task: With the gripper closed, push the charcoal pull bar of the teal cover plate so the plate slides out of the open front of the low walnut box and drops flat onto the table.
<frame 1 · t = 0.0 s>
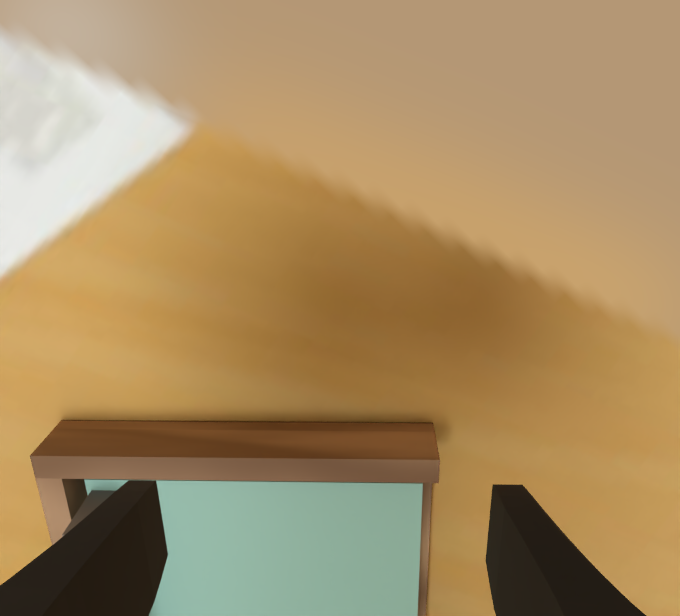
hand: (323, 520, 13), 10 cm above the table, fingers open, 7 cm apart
walnut box: (256, 557, 26), on the table
cover plate: (265, 568, 26), point 1 cm above the table, touching walnut box
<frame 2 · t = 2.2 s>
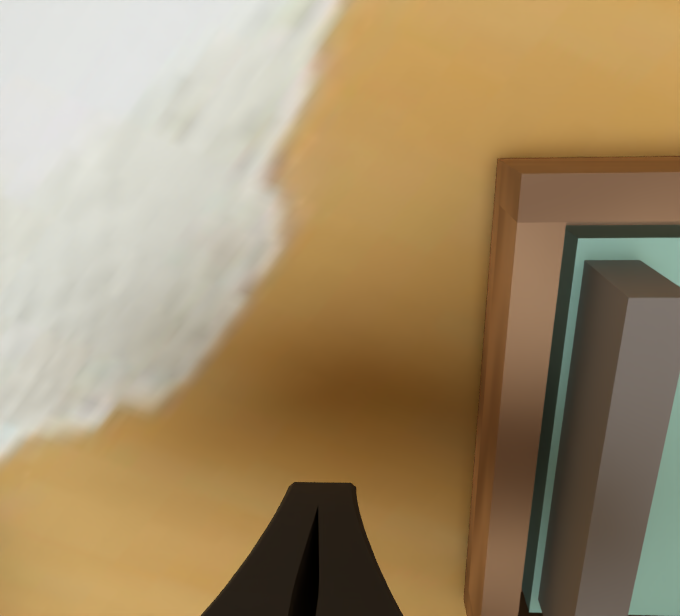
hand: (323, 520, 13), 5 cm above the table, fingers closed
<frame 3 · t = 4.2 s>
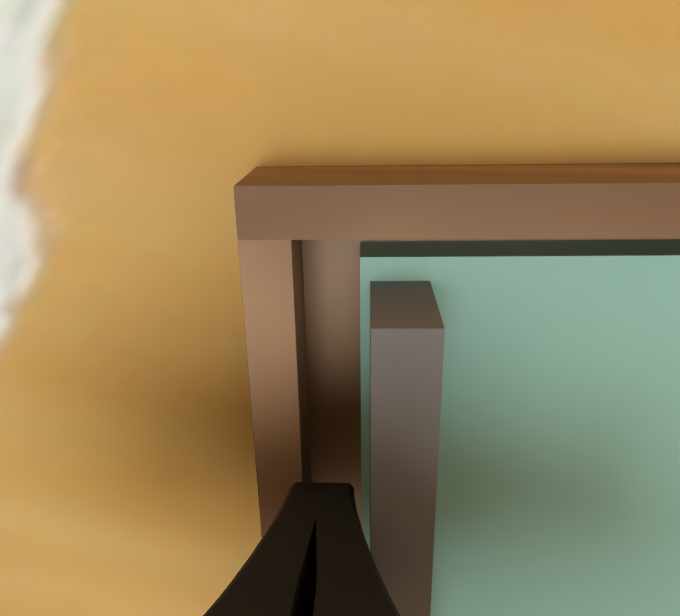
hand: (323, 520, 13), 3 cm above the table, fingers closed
walnut box: (565, 442, 15), on the table
cover plate: (625, 456, 15), point 1 cm above the table, touching gripper, walnut box
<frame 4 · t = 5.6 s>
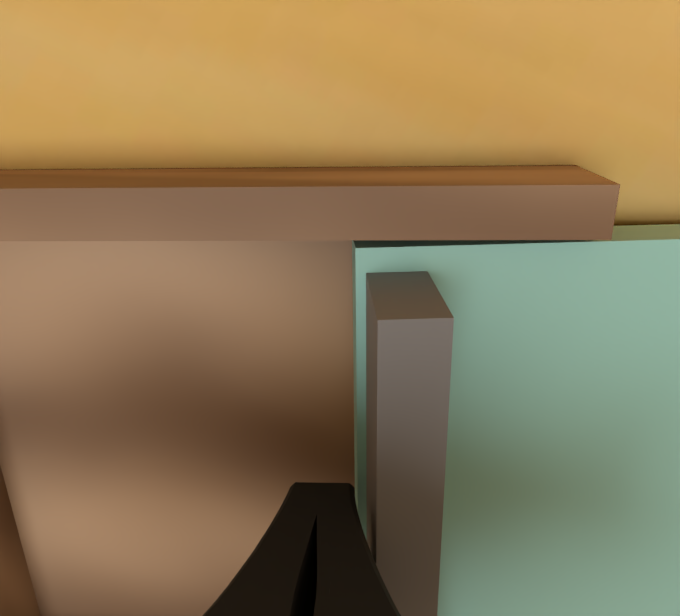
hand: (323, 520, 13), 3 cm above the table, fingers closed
walnut box: (250, 438, 16), on the table
cover plate: (617, 443, 15), on the table, touching walnut box
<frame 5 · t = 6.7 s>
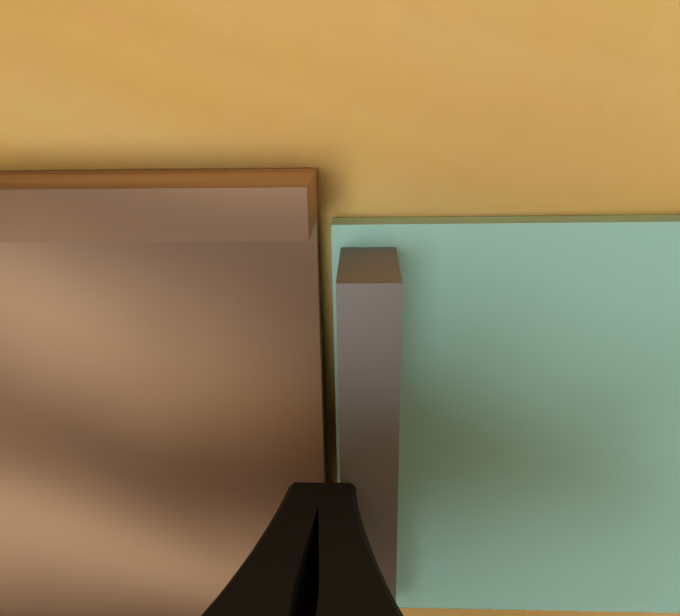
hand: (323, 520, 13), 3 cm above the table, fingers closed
walnut box: (44, 437, 16), on the table
cover plate: (585, 417, 16), on the table, touching gripper
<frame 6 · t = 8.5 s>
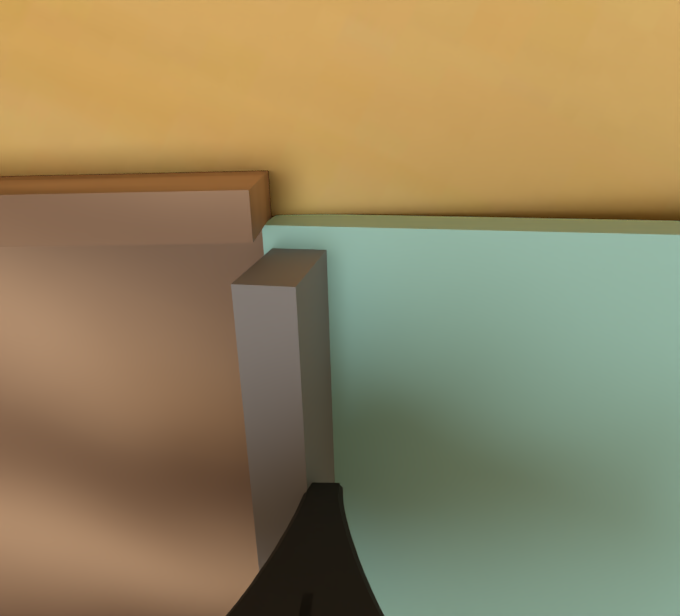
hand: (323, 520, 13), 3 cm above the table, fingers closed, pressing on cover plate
walnut box: (10, 440, 16), on the table
cover plate: (548, 441, 14), point 1 cm above the table, tilted 10°, touching gripper, walnut box
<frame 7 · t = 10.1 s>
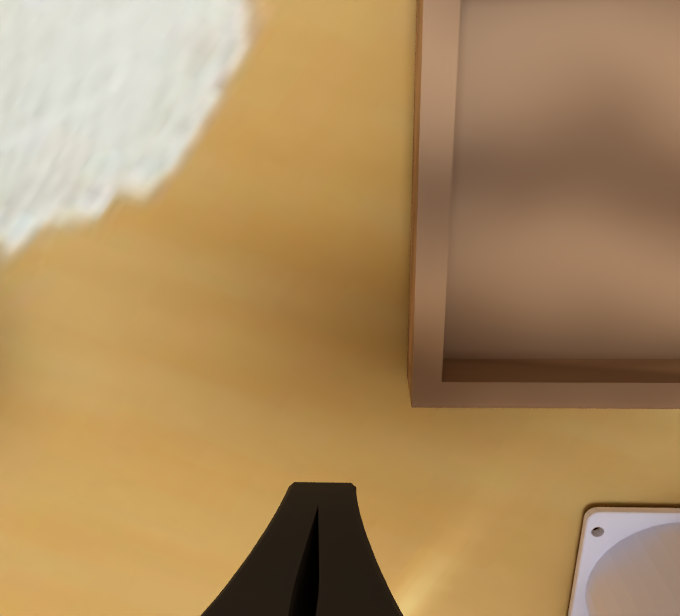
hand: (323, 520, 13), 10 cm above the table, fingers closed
walnut box: (634, 192, 20), on the table
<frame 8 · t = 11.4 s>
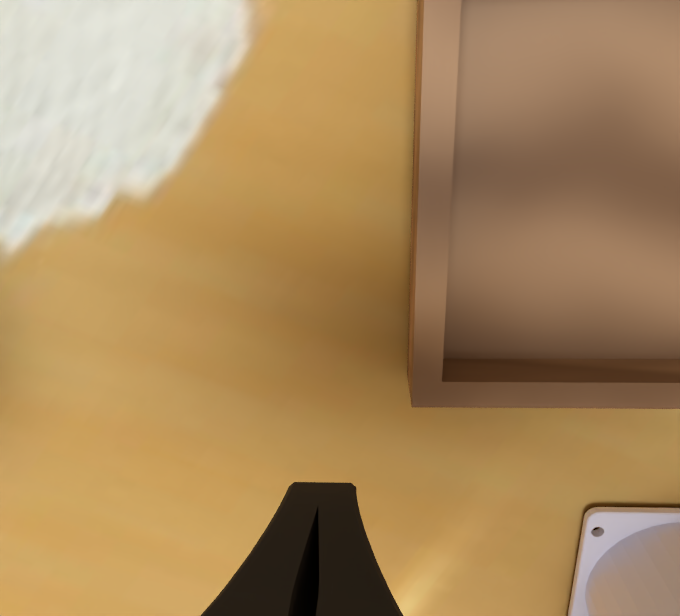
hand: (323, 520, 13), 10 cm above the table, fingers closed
walnut box: (634, 191, 20), on the table
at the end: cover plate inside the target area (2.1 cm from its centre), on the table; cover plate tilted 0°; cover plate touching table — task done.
